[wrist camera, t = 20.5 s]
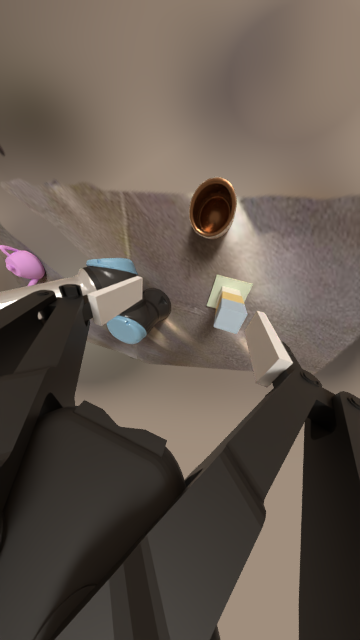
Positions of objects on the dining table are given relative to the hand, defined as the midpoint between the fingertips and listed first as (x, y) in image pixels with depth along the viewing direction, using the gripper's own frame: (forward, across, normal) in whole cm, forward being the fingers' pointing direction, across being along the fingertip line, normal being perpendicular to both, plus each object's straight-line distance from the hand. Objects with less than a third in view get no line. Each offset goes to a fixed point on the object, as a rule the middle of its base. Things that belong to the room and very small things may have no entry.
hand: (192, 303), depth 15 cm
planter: (+35, -4, +12) cm, 37 cm away
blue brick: (+22, +8, -9) cm, 25 cm away
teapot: (+35, -91, -22) cm, 100 cm away
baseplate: (+35, +8, -9) cm, 37 cm away
